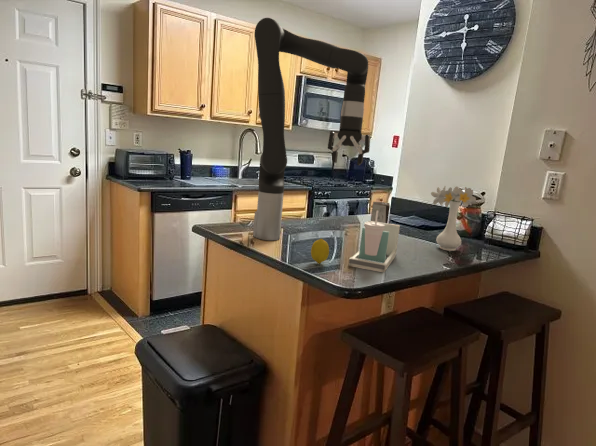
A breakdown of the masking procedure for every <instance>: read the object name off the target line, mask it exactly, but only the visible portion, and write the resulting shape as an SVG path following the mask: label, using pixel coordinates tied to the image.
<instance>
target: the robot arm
mask: <svg viewBox="0 0 596 446" xmlns="http://www.w3.org/2000/svg"><path fill="white" fill-rule="evenodd" d="M254 41H255V48H256V49H255V50H256V56H257V84H258V85H257V86H258V87H257V89H258V91H257V92H258V93H257V94H258V95H257V96H258V111H259V119H260V123H261V124H260V125H261V129H262V136H263V137H262V138H263V139H262V142H263V143H262V153H261V155H260V159H259V171H258V192H257V194H258V195H257V207H256V211H254V219H253V228H252V229H253V233H252V237H253V238H256V239H259V240H263V241H277V240H280V239H281V229H282V228H281V227H282V220H283V219H282V218H283V217H282V216H283V208H284V207H283V206H284V193H285V170H286V168H287V166H288V165H287V164H288V156H287V150H286V142H285V140H286V139H285V124H286V122H285V121H286V93H285V91H286V90H285V85H284V79H283V75H282V70H281V66H280V53H286V54H289V55H293V56H296V57H297V56H298V57H301V58H302V59H305V60H307V61H310V62H313V63H315V64H318V65H321V66H325V67H327V68H330V69H338V70H341V71H344V72H346V84H345V86H344V90H343V91H344V93H343V101H342V106H341V111H340V121H339V131H338V132H334V131H330V133H329V138H328V141H327V142H328V143H327V149H328V150H330V151H332V155H331V160H332V162H333V163H335V164H336V163H338V155H339V152H338V151H339V150H340V149H341V148H342V147H343V146H345V147H348V146H349V147H353V148H354V147H355V149H356V151H357V152H358V155H357V162H356V163H357V164H356V165H357V166H361V165H362V164H363V163H364V154H367V153H370V147H371V146H370V145H371V135H370V134H363V133H362V130H363V129H362V128H363V121H364V111H365V108H364V107H365V97H366V84H367V79H368V73H369V59H368V57H367V56H366V55H365V54H364V53H362V52H360V51H357V50H353V49H348V48H343V47H339V46H337V45H334V44H331V43H328V42H327V41H326V42H325V41H322V40H318V39H313V38H309V37H308V38H307V37H302V36H300V35H297V34H295V33H292V32H291V31H289V30H287V29H285V28H283V27H282V25H281V24H279V22H278V21H276V20H275V19H273V18H271V17H263V18H262V19H260V20H259V21H258V22H257V24H256V26H255V28H254ZM337 138H338V142H336V144H335V145H334V143H335V139H337ZM361 140H363V142H364V149H363V147H362V146H361V145H362V144H360V141H361Z"/></svg>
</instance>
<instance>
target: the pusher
mask: <svg viewBox="0 0 596 446" xmlns="http://www.w3.org/2000/svg"><path fill="white" fill-rule="evenodd" d="M361 229H362V230H361V235H360V236H361V237H360V239H361V240H360V245H359V251H360V252H359V251H358V252H359V258H360V259H362V260H367V261H373V262H378V263H384V262H385V261H386V259H387V257H386V256H387V255H386V252H387V244H388V237H389V232H387V231H383V233H382V237H381V240H380V244H379V248H378V252H377V255H376V256H371V255H367V254H365V227H362V228H361Z"/></svg>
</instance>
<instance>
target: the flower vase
mask: <svg viewBox="0 0 596 446" xmlns="http://www.w3.org/2000/svg"><path fill="white" fill-rule="evenodd" d="M452 188H453V187H449V188H447V190H446V185H444V187H443V188H442V190H441V189H440V187H436V192H435V191H432V192H431V193H430V194H431V196H432V197H433V198H435V199H434V200H433V202H432V204H433V205H435V206H436V205H437V204H439V205H440V206H443V204H444V206H445V207H446V208H448V207H449V211H448V217H447V223H446V225H445V228H444V229H443V230H442V232H440V233H439V234H438V235H437V236H436V238H435V239H436V243H437V245H438V246H439V249H440V250H442V251H443V250H444V251H449V252H454V251H455V252H456V251H457V248H459V247H460V246H461V245H462V239H461V237H460V235H459V234H458V232H457V216H458V213H459V212H458V211H459V208H460V206H461V204H463V206H464V207H468V206H472V203H475V204H476V203H477V198H476V196H473V194H474V191H473V189H472V188H471V187H466V186H465V187H464V191H463V190H462V189H461V188H459V186H454V188H453V189H452Z"/></svg>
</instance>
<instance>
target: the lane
mask: <svg viewBox="0 0 596 446" xmlns="http://www.w3.org/2000/svg"><path fill="white" fill-rule="evenodd" d="M367 222H375V221H371V220H367ZM377 223H381V222H377ZM381 224H384V225H385V228H384V229H383V231H387V232H389V237H388V244H387V252H386V256H387V257H386V259H385V262H384V263H382V262H377V261H371V260H366V259H361V258H359V252H360V250H358V251H357V252H356V253H354V254H353V256H351V257H350V256H349V259H348V266H349V267H353V268H359V269H364V270H368V271H374V272H380V273H385V272H386V271H387V270H388V268H389V266H390V265H391V263H392V262H393V261H394V259H395V258H396V256H397V250H398V242H399V236H400V227H401V226H400V224H393V223H381Z"/></svg>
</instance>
